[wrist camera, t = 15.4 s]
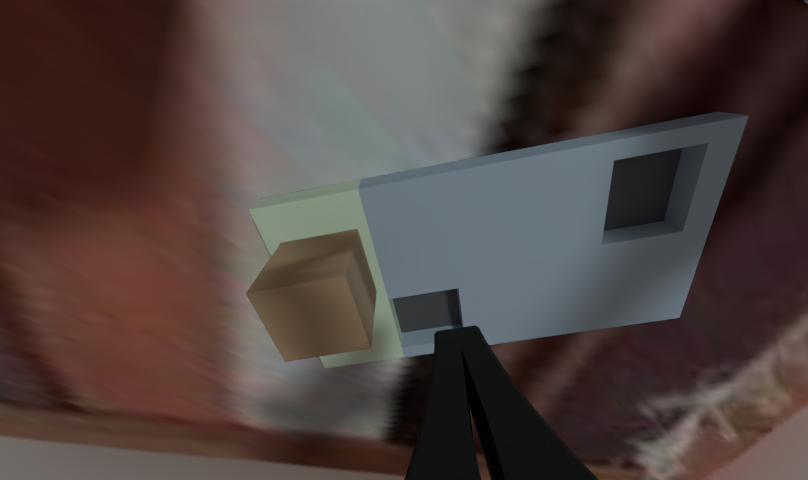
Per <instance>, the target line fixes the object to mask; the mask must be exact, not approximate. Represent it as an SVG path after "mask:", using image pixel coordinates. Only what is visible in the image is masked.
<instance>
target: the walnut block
mask: <svg viewBox="0 0 808 480" xmlns="http://www.w3.org/2000/svg"><path fill="white" fill-rule="evenodd" d="M376 293H377V291H376V287H375V284H374V281H373V278H372V274H371V271H370V268H369V264H368V261H367V258H366V255H365V251H364V248H363V245H362V242H361V238H360V235H359V232H358V229H353V230H347V231H342V232H337V233H331V234H326V235H320V236H315V237H310V238H304V239H299V240H293V241H288V242H283V243H280V245H279V246H278V248H277V249H276V251H275V252H274V253H273V255H272V256H271V258H270V259H269V261H268V262H267V264H266V265H265V267H264V268H263V269H262V271H261V272H260V274H259V275H258V277H257V278H256V280H255V281H254V283H253V284H252V285H251V287H250V288H249V290H248V291H247V293H246V295H247V296H248V298H249V300H250V302H251V303H252V305H253V307H254V309H255V310H256V312H257V314H258V316H259V317H260V319H261V321H262V322H263V324H264V326H265V328H266V329H267V331H268V333H269V335H270V336H271V338H272V340H273V342H274V343H275V345H276V347H277V349H278V350H279V352H280V354H281V355H282V357H283V359H284V361H285V362H287V361H293V360H300V359H306V358H313V357H320V356H326V355H333V354H339V353H346V352H352V351H359V350H365V349H371V344H372V334H373V324H374V314H375V303H376Z"/></svg>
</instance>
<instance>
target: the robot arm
mask: <svg viewBox="0 0 808 480" xmlns="http://www.w3.org/2000/svg"><path fill="white" fill-rule="evenodd" d="M804 2H805V3H806V4H808V0H804ZM469 406H470V409H471V413H472V416H473V420H474V423H475V426H476V430H477V433H478V437H479V440H480V443H481V447H482V450H483V454H484V457H485V460H486V464H487V467H488V471H489V474H490V477H491V480H598V479H597V478H596V477H595V476H594V474H593V473H592V472H591V471H590V470H589V469H588V468H587V467H586V466H585V465H584V464H583V463H582V462H581V461H580V460H579V459H578V458H577V457H576V456H575V454H574V453H573V452H572V451H571V450H570V449H569V448H568V447H567V446H566V445H565V443H564V442H563V441H562V440H561V439H560V438H559V437H558V436H557V435H556V433H555V432H554V431H553V430H552V429H551V428H550V426H549V425H548V424H547V423H546V422H545V421H544V419H543V418H542V417H541V416H540V415H539V413H538V412H537V411H536V410H535V408H534V407H533V406H532V405H531V404H530V402H529V401H528V400H527V399H526V397H525V396H524V395H523V393H522V392H521V391H520V390H519V388H518V387H517V385H516V384H515V383H514V381H513V380H512V379H511V377H510V376H509V375H508V373H507V372H506V371H505V369H504V368H503V366H502V365H501V363H500V362H499V360H498V359H497V357H496V356H495V354H494V353H493V351H492V350H491V348H490V346H489V345H488V343H487V341H486V340H485V338H484V336H483V334H482V332H481V330H480V328H479V327H477V326H476V325H474V326H468V327H461V328H454V329H447V330H441V331H437V332H436V333H435V334H434V357H433V366H432V373H431V379H430V384H429V390H428V395H427V400H426V405H425V409H424V413H423V417H422V421H421V425H420V429H419V433H418V437H417V440H416V444H415V447H414V451H413V454H412V457H411V461H410V464H409V467H408V470H407V473H406V476H405V479H404V480H481V478H480V473H479V468H478V463H477V458H476V454H475V449H474V442H473V434H472V425H471V417H470V409H469Z"/></svg>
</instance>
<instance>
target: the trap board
mask: <svg viewBox="0 0 808 480" xmlns="http://www.w3.org/2000/svg"><path fill="white" fill-rule="evenodd" d="M748 117H749V115H742V114H734V113H726V112H712V113H707V114H702V115H697V116H691V117H686V118H681V119H676V120H671V121H665V122H660V123H655V124H650V125H644V126H639V127H634V128H629V129H623V130H618V131H613V132H608V133H603V134H597V135H592V136H587V137H582V138H576V139H571V140H566V141H561V142H556V143H550V144H545V145H540V146H535V147H529V148H524V149H519V150H514V151H509V152H503V153H498V154H493V155H488V156H482V157H477V158H472V159H467V160H462V161H456V162H451V163H446V164H441V165H435V166H430V167H425V168H420V169H415V170H409V171H404V172H399V173H394V174H388V175H383V176H378V177H373V178H368V179H362V180H357V181H352V182H347V183H341V184H336V185H331V186H326V187H321V188H315V189H310V190H305V191H300V192H294V193H289V194H284V195H279V196H273V197H268V198H263V199H260V200H259V201H258V202H257V203H256V204H255V205H254V206H253V207H252V208H250V209H249V211H250V213H251V215H252V217H253V219H254V221H255V224H256V226H257V228H258V230H259V232H260V234H261V236H262V238H263V240H264V242H265V244H266V247H267V249H268V251H269V253H270V255H271V256H272V255H273V253H274V252H275V251H276V249H277V248H278V246H279V245H280V243H283V242H288V241H293V240H299V239H304V238H310V237H315V236H320V235H326V234H331V233H337V232H342V231H347V230H353V229H358V232H359V235H360V238H361V242H362V245H363V248H364V251H365V255H366V258H367V261H368V264H369V268H370V271H371V274H372V278H373V281H374V284H375V287H376V291H377V293H376V303H375V314H374V324H373V334H372V344H371V349H365V350H359V351H352V352H346V353H339V354H333V355H326V356H320V360H321V362H322V364H323V366H324V368H325V369H326V368H332V367H339V366H346V365H353V364H360V363H367V362H374V361H381V360H388V359H395V358H402V357H409V356H416V355H423V354H430V353H434V334H435V333H436V332H437V331H441V330H447V329H454V328H461V327H468V326H474V325H476V326H477V327H479V328H480V330H481V332H482V334H483V336H484V338H485V340H486V341H487V343H488V345H492V344H499V343H506V342H513V341H520V340H527V339H534V338H541V337H548V336H555V335H562V334H569V333H576V332H583V331H590V330H597V329H604V328H611V327H618V326H624V325H631V324H638V323H645V322H652V321H659V320H666V319H673V318H679V317H680V315H681V312H682V309H683V306H684V303H685V300H686V297H687V294H688V291H689V288H690V285H691V283H692V280H693V277H694V274H695V271H696V268H697V265H698V262H699V259H700V256H701V253H702V251H703V248H704V245H705V242H706V239H707V236H708V233H709V230H710V227H711V224H712V221H713V218H714V216H715V213H716V210H717V207H718V204H719V201H720V198H721V195H722V192H723V189H724V186H725V184H726V181H727V178H728V175H729V172H730V169H731V166H732V163H733V160H734V157H735V154H736V152H737V149H738V146H739V143H740V140H741V137H742V134H743V131H744V128H745V125H746V122H747V119H748Z"/></svg>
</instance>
